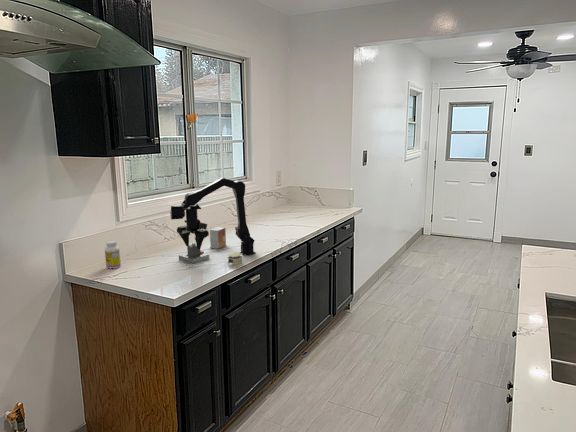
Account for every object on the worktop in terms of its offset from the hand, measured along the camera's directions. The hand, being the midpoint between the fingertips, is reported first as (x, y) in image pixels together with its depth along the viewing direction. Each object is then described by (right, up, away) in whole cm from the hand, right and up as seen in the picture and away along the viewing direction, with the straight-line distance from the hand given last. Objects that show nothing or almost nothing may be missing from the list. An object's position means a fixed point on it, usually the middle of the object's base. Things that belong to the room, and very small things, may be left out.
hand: (193, 247), depth 225 cm
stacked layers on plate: (+22, -8, -7) cm, 25 cm away
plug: (0, -6, +1) cm, 6 cm away
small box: (+9, -1, +25) cm, 27 cm away
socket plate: (0, -6, +1) cm, 6 cm away
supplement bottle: (-37, -9, -10) cm, 39 cm away
